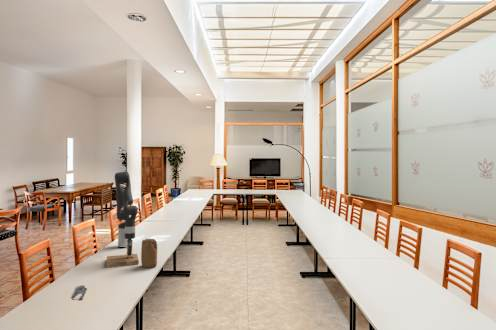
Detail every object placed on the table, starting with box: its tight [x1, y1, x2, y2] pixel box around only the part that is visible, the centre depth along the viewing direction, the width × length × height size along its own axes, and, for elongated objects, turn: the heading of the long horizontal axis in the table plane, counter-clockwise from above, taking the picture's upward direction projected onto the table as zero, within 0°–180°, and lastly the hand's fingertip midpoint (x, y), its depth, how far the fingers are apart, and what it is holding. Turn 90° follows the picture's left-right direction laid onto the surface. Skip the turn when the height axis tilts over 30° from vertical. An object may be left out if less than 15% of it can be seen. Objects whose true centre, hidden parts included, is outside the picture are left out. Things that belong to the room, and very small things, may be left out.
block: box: [140, 238, 158, 269], centre depth 233 cm, size 11×8×20 cm
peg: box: [126, 247, 133, 258], centre depth 243 cm, size 4×4×10 cm
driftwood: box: [70, 284, 88, 301], centre depth 185 cm, size 21×7×2 cm, turn 17°
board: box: [105, 253, 140, 269], centre depth 241 cm, size 18×22×3 cm
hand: (129, 254), depth 243 cm, fingers closed on peg, 4 cm apart
